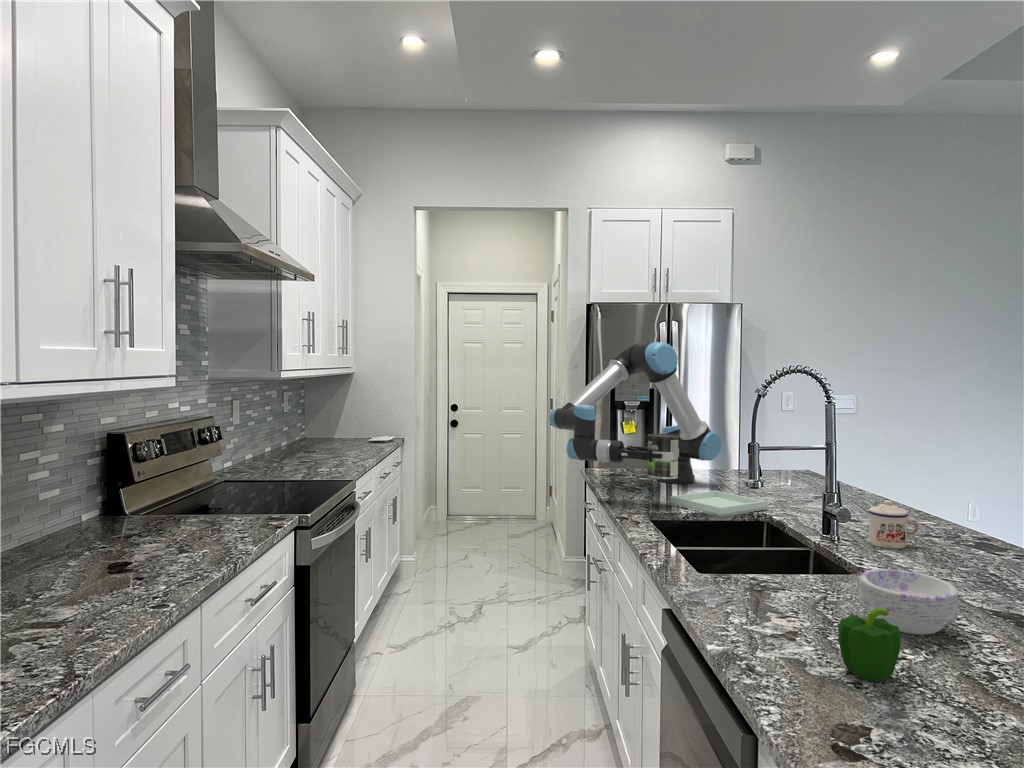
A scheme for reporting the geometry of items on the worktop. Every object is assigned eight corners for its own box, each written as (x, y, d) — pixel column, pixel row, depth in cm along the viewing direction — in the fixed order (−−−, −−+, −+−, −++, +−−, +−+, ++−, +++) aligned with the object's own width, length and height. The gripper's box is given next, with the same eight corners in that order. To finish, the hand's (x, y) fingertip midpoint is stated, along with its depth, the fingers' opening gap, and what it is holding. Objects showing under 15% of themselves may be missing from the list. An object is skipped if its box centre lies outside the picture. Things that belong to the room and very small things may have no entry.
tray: (715, 498, 233) (715, 490, 233) (767, 510, 214) (767, 501, 214) (670, 504, 222) (670, 496, 222) (720, 517, 203) (720, 508, 203)
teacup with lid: (874, 548, 168) (875, 503, 168) (863, 539, 177) (863, 496, 177) (925, 551, 166) (926, 505, 166) (911, 542, 175) (912, 498, 174)
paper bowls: (919, 648, 107) (920, 600, 107) (840, 616, 121) (840, 574, 121) (977, 634, 113) (978, 588, 113) (895, 605, 127) (896, 564, 127)
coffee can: (656, 480, 213) (656, 437, 212) (641, 475, 222) (641, 434, 222) (684, 478, 216) (684, 436, 215) (668, 473, 225) (668, 433, 225)
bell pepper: (840, 682, 95) (841, 614, 95) (834, 659, 103) (835, 596, 103) (906, 692, 92) (908, 622, 92) (895, 668, 100) (896, 603, 100)
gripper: (619, 457, 237) (681, 461, 227) (601, 466, 216) (669, 470, 207) (619, 437, 236) (681, 440, 227) (601, 443, 216) (669, 447, 207)
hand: (675, 454), depth 217 cm, fingers closed on coffee can, 10 cm apart
